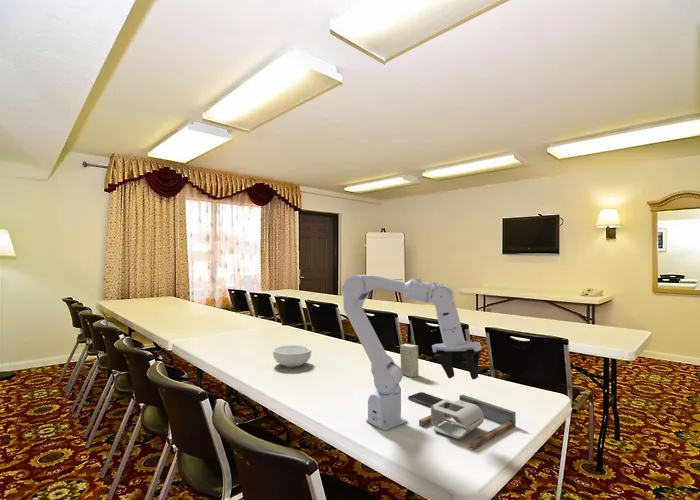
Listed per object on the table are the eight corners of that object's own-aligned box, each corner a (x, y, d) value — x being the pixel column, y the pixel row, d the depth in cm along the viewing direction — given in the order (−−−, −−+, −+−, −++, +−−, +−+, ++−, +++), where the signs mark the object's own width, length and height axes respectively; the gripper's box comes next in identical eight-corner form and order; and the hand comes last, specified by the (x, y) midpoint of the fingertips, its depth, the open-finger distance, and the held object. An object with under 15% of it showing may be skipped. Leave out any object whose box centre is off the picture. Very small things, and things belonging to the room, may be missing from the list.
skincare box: (418, 375, 150) (418, 345, 150) (413, 377, 146) (413, 347, 147) (405, 372, 154) (405, 343, 154) (399, 374, 151) (399, 344, 151)
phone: (444, 410, 112) (406, 396, 124) (444, 414, 112) (406, 400, 123) (458, 404, 117) (421, 391, 129) (458, 408, 117) (421, 394, 129)
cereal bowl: (285, 373, 152) (285, 355, 152) (266, 364, 164) (266, 348, 164) (318, 365, 163) (318, 349, 163) (298, 358, 175) (298, 343, 176)
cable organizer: (448, 395, 110) (425, 405, 101) (488, 406, 101) (467, 419, 92) (448, 417, 109) (426, 430, 101) (488, 430, 101) (467, 446, 92)
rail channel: (473, 450, 90) (473, 433, 90) (419, 425, 104) (419, 410, 104) (515, 426, 103) (515, 412, 103) (462, 407, 117) (462, 394, 117)
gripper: (481, 322, 98) (494, 374, 96) (438, 326, 109) (449, 372, 107) (467, 328, 93) (480, 382, 92) (423, 332, 104) (435, 380, 102)
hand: (462, 377), depth 99 cm, fingers open, 7 cm apart
